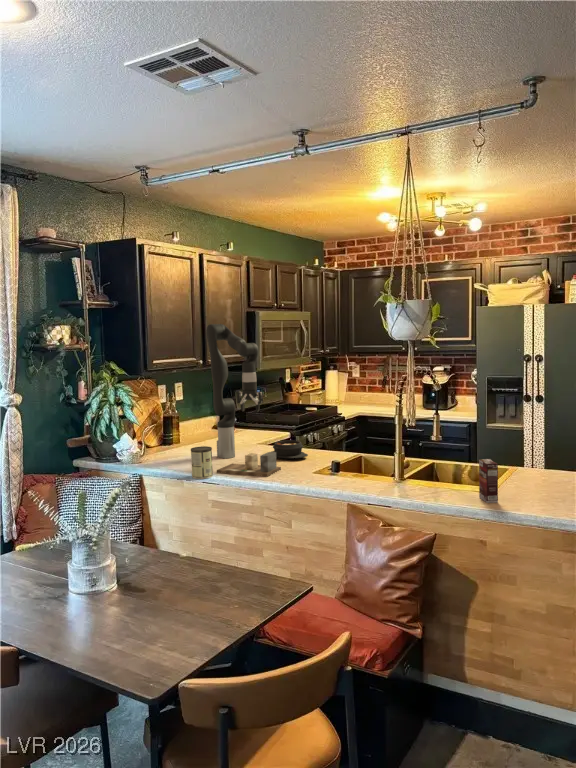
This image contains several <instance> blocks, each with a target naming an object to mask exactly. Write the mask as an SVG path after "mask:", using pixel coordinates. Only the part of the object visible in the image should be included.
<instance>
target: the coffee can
mask: <svg viewBox="0 0 576 768" xmlns="http://www.w3.org/2000/svg"><path fill="white" fill-rule="evenodd" d="M212 451H213V447H212V446H206V445H205V446H195V447H191V448H190V458H191V459H190V460H191V478H192V479H195V480H196V479H197V480H204V479H210V478H212V477H213V476H214V474H213V453H212Z"/></svg>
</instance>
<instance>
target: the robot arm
mask: <svg viewBox="0 0 576 768" xmlns="http://www.w3.org/2000/svg"><path fill="white" fill-rule="evenodd" d="M205 333H206V334H205V335H206V340H207V344H208V350H209V358H210V359H209V360H210V369H211V370H210V371H211V378H212V387H213V388H212V389H213V390H212V391H213V396H212V398H213V402H212V403H213V411H214V413H215V414H216V416H223V417H222V419H220V420H219V421H218V422H217V440H216V458H219V459H232V457H233V458H235V457H236V449H235V421H236V404H235V401H234V400H233V398H231V397H227V398H224V397H223V390H224V387H225V384H226V382H227V379H228V377H229V368H228V362H227V360H226V359H225V356H224V355H223V354H222V353H221V351H220V350H219V346H218V343H217V341H227V345H229V347H230V348H232V349H233V350H235V351H236V352H237V354H238V355H239V356H241V357H243V358H244V357H245V358H246V357H248V358H247V360H245V361H243V362H242V363H241V368H242V370H241V372H242V374H241V382H242V383H241V386H242V391H237V394H236V402H237V404H239V405H240V410H241V412H245V410H246V409H245V403H246V401H253V402H254V403H255V412H256V413H259V412H260V410H261V408H260V407H261V404H263V403H264V397H263V392H262V391H257V390H258V389H257V387H258V386H257V380H258V379H257V373H256V372H257V371H256V369H257V368H256V367H257V366H256V363H257V359H258V354H259V347H258V344H256V343H255V342H246V340H245V339H244V338H242V337H240V336H238V335H237V334H235V333H234V332H233V331H232V330H230V328H228V326H226V325H225V324H222V323H211V324H210V323H209V324H208V325H206V331H205ZM242 396H243V397H242Z"/></svg>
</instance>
